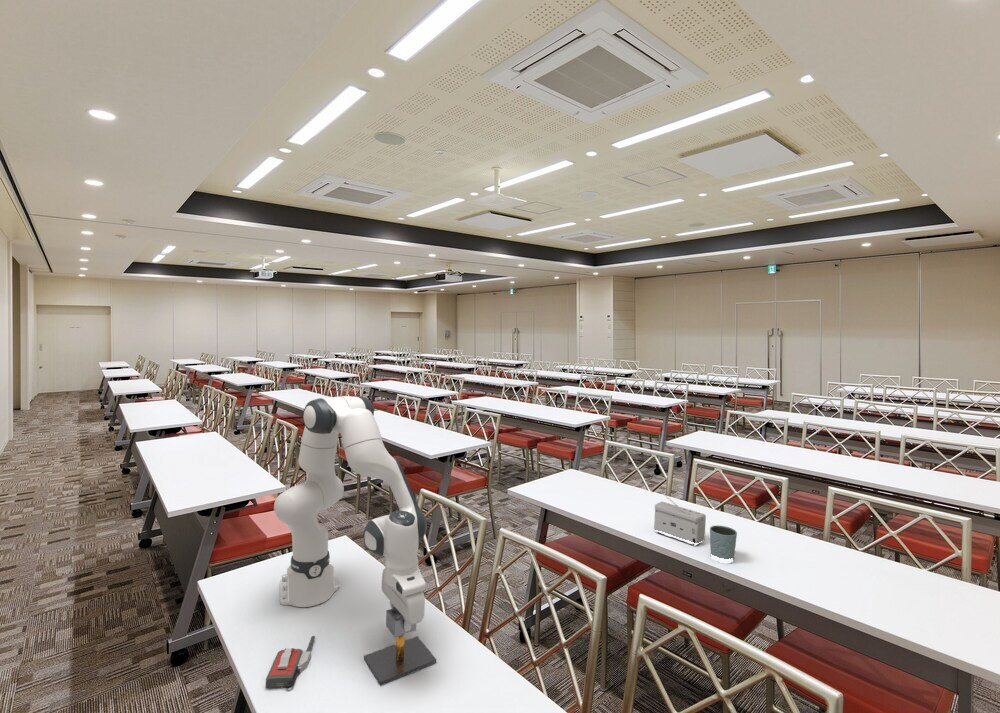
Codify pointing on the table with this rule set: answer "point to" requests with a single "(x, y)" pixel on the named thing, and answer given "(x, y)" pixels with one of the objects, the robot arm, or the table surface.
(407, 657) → the base
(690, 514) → the stereo radio cassette player
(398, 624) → the hollow square tube
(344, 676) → the table surface
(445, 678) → the table surface
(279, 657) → the walkie-talkie
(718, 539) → the grey green cup
